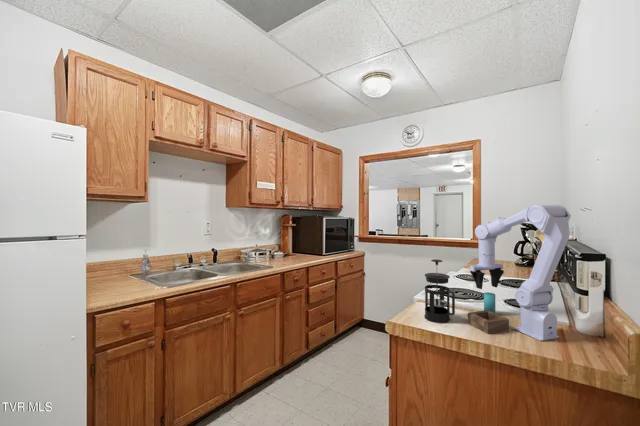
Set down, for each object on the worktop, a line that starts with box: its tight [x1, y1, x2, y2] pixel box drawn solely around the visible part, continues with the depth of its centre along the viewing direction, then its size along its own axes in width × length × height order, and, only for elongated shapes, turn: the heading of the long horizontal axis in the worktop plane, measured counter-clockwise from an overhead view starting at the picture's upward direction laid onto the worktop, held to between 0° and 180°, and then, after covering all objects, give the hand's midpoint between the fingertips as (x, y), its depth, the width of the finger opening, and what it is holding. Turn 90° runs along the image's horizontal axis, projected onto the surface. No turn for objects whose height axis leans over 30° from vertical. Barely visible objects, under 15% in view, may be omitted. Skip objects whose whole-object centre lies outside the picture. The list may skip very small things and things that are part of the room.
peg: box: [483, 291, 496, 314], centre depth 113 cm, size 4×4×8 cm
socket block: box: [467, 310, 510, 335], centre depth 101 cm, size 9×9×4 cm
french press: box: [423, 258, 456, 324], centre depth 109 cm, size 12×9×23 cm
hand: (487, 287), depth 114 cm, fingers open, 7 cm apart
